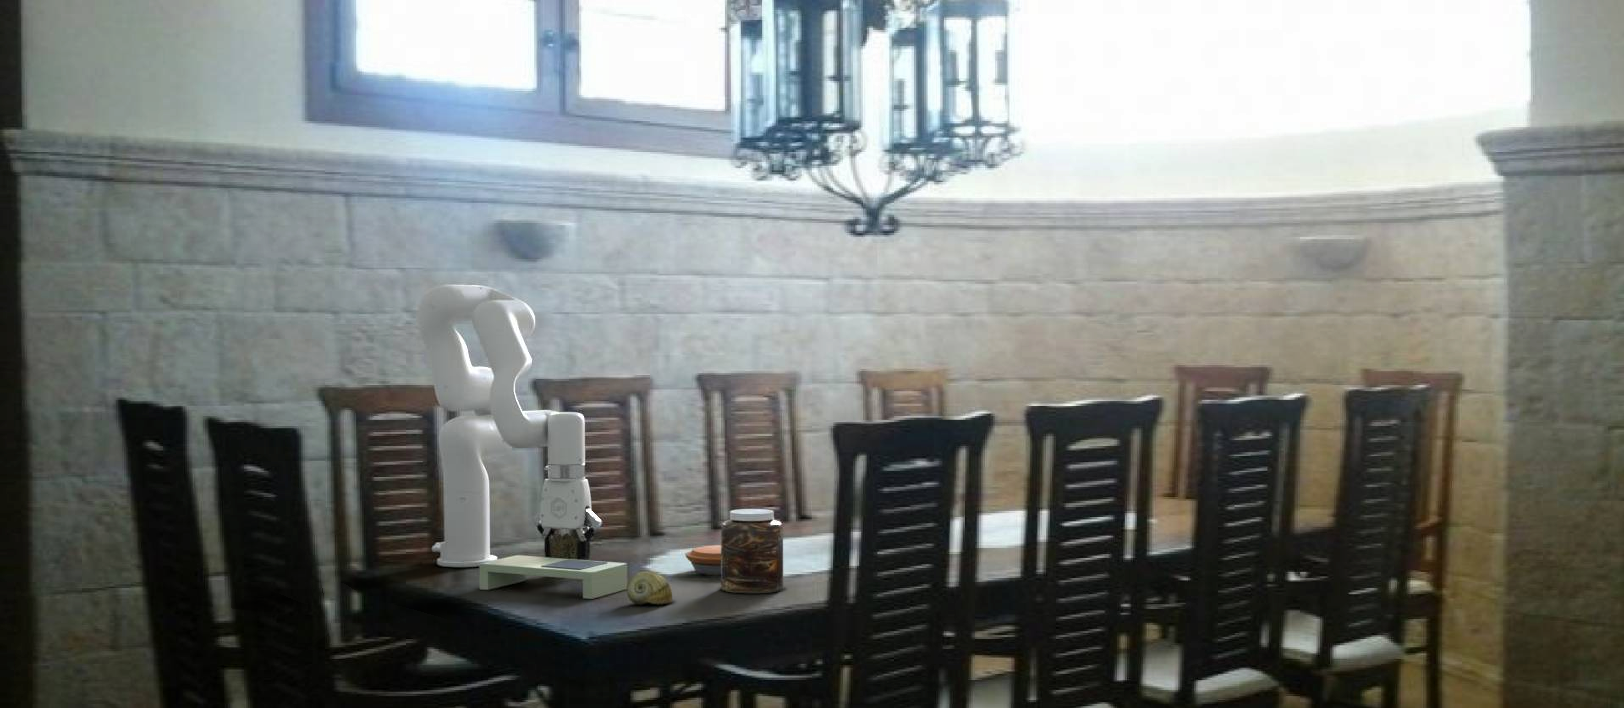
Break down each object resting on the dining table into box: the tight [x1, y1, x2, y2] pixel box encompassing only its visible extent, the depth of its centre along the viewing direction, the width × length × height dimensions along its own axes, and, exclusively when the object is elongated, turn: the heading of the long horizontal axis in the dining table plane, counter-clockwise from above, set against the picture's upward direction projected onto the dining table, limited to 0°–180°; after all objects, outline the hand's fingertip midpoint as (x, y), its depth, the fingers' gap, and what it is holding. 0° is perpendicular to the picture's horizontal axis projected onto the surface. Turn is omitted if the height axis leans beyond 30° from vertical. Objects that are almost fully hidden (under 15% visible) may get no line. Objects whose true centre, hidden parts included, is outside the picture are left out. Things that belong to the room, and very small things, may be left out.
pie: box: [684, 544, 721, 576], centre depth 314 cm, size 15×16×5 cm
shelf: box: [478, 554, 628, 600], centre depth 293 cm, size 26×12×5 cm, turn 64°
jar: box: [720, 508, 784, 595], centre depth 292 cm, size 12×12×15 cm
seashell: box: [626, 570, 673, 606], centre depth 277 cm, size 10×7×8 cm
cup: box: [549, 532, 581, 560], centre depth 311 cm, size 8×7×8 cm
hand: (567, 558), depth 311 cm, fingers closed on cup, 7 cm apart
